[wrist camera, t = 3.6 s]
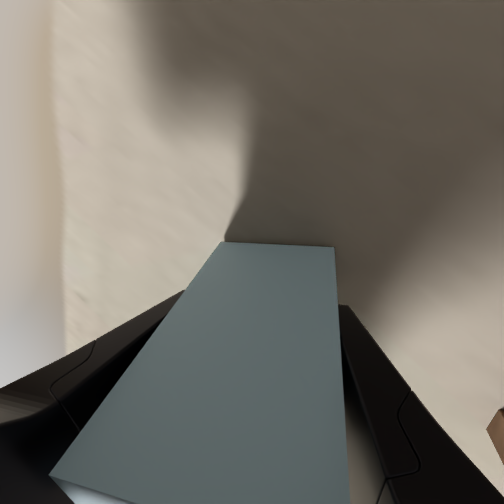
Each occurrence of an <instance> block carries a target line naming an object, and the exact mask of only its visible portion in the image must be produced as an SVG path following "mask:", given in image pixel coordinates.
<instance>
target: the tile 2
mask: <svg viewBox="0 0 504 504" xmlns="http://www.w3.org/2000/svg"><path fill="white" fill-rule="evenodd" d="M486 430H487V432H488V434H489V436H490V438H491V440H492V442H493V444H494V446H495V448H496V450H497V452H498V454H499V456H500V458H501V460H502V462H503V464H504V410H498V412H497V413H496V415H495V417H494V418H493V420H492V421H491V423H490V424H489V426H488V427H487V429H486Z"/></svg>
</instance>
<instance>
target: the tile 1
mask: <svg viewBox="0 0 504 504" xmlns="http://www.w3.org/2000/svg"><path fill="white" fill-rule="evenodd" d="M49 476H50V477H51V478H52V479H53V480H54V482H55V483H56V484H57V485H58V486H59V487H60V488H61V489H62V490H63V491H64V492H65V493H66V494H67V496H68V497H69V498H70V499H71V500H72V501H73V502H74V503H75V504H350V490H349V474H348V458H347V442H346V426H345V410H344V394H343V378H342V362H341V346H340V330H339V314H338V298H337V282H336V266H335V250H334V247H320V246H299V245H278V244H257V243H236V242H220V244H219V245H218V246H217V248H216V249H215V250H214V252H213V253H212V254H211V256H210V257H209V259H208V260H207V261H206V263H205V264H204V265H203V267H202V268H201V269H200V271H199V272H198V273H197V275H196V276H195V277H194V279H193V280H192V282H191V283H190V284H189V286H188V287H187V288H186V290H185V291H184V292H183V294H182V295H181V296H180V298H179V299H178V301H177V302H176V303H175V305H174V306H173V307H172V309H171V310H170V311H169V313H168V314H167V315H166V317H165V318H164V319H163V321H162V322H161V324H160V325H159V326H158V328H157V329H156V330H155V332H154V333H153V334H152V336H151V337H150V338H149V340H148V341H147V342H146V344H145V345H144V347H143V348H142V349H141V351H140V352H139V353H138V355H137V356H136V357H135V359H134V360H133V361H132V363H131V364H130V365H129V367H128V368H127V370H126V371H125V372H124V374H123V375H122V376H121V378H120V379H119V380H118V382H117V383H116V384H115V386H114V387H113V388H112V390H111V391H110V393H109V394H108V395H107V397H106V398H105V399H104V401H103V402H102V403H101V405H100V406H99V407H98V409H97V410H96V411H95V413H94V414H93V416H92V417H91V418H90V420H89V421H88V422H87V424H86V425H85V426H84V428H83V429H82V430H81V432H80V433H79V434H78V436H77V437H76V439H75V440H74V441H73V443H72V444H71V445H70V447H69V448H68V449H67V451H66V452H65V453H64V455H63V456H62V457H61V459H60V460H59V462H58V463H57V464H56V466H55V467H54V468H53V470H52V471H51V472H50V474H49Z"/></svg>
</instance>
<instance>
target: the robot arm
mask: <svg viewBox="0 0 504 504" xmlns="http://www.w3.org/2000/svg"><path fill="white" fill-rule="evenodd" d="M184 291H185V290H182V291H181V292H179V293H177V294H175V295H174V296H172V297H170V298H168V299H166V300H165V301H163V302H161V303H159V304H158V305H156V306H154V307H152V308H151V309H149V310H147V311H145V312H143V313H142V314H140V315H138V316H136V317H135V318H133V319H131V320H129V321H127V322H126V323H124V324H122V325H120V326H119V327H117V328H115V329H113V330H112V331H110V332H108V333H106V334H104V335H103V336H101V337H99V338H97V339H96V340H94V341H92V342H90V343H88V344H87V345H85V346H83V347H81V348H79V349H78V350H76V351H74V352H72V353H70V354H68V355H67V356H65V357H63V358H61V359H59V360H57V361H55V362H53V363H51V364H49V365H47V366H45V367H43V368H41V369H39V370H37V371H35V372H33V373H31V374H29V375H27V376H25V377H23V378H20V379H18V380H16V381H14V382H12V383H10V384H8V385H6V386H5V387H2V388H0V504H75V503H74V502H73V501H72V500H71V499H70V498H69V497H68V496H67V494H66V493H65V492H64V491H63V490H62V489H61V488H60V487H59V486H58V485H57V484H56V483H55V482H54V480H53V479H52V478H51V477H50V476H49V474H50V472H51V471H52V470H53V468H54V467H55V466H56V464H57V463H58V462H59V460H60V459H61V457H62V456H63V455H64V453H65V452H66V451H67V449H68V448H69V447H70V445H71V444H72V443H73V441H74V440H75V439H76V437H77V436H78V434H79V433H80V432H81V430H82V429H83V428H84V426H85V425H86V424H87V422H88V421H89V420H90V418H91V417H92V416H93V414H94V413H95V411H96V410H97V409H98V407H99V406H100V405H101V403H102V402H103V401H104V399H105V398H106V397H107V395H108V394H109V393H110V391H111V390H112V388H113V387H114V386H115V384H116V383H117V382H118V380H119V379H120V378H121V376H122V375H123V374H124V372H125V371H126V370H127V368H128V367H129V365H130V364H131V363H132V361H133V360H134V359H135V357H136V356H137V355H138V353H139V352H140V351H141V349H142V348H143V347H144V345H145V344H146V342H147V341H148V340H149V338H150V337H151V336H152V334H153V333H154V332H155V330H156V329H157V328H158V326H159V325H160V324H161V322H162V321H163V319H164V318H165V317H166V315H167V314H168V313H169V311H170V310H171V309H172V307H173V306H174V305H175V303H176V302H177V301H178V299H179V298H180V296H181V295H182V294H183V292H184ZM338 314H339V330H340V346H341V362H342V378H343V394H344V410H345V426H346V442H347V458H348V474H349V490H350V504H504V497H503V496H502V495H501V493H500V492H499V491H498V490H497V489H496V488H495V487H494V486H493V485H492V483H491V482H490V481H489V480H488V479H487V478H486V477H485V476H484V475H483V473H482V472H481V471H480V470H479V469H478V468H477V467H476V466H475V465H474V463H473V462H472V461H471V460H470V459H469V458H468V457H467V456H466V455H465V453H464V452H463V451H462V450H461V449H460V448H459V447H458V446H457V444H456V443H455V442H454V441H453V440H452V439H451V438H450V436H449V435H448V434H447V433H446V432H445V431H444V429H443V428H442V427H441V426H440V425H439V424H438V422H437V421H436V420H435V419H434V417H433V416H432V415H431V414H430V412H429V411H428V410H427V409H426V407H425V406H424V405H423V404H422V402H421V401H420V400H419V398H418V397H417V396H416V394H415V393H414V392H413V391H411V388H410V386H409V385H408V384H407V383H406V381H405V380H404V379H403V377H402V376H401V375H400V373H399V372H398V371H397V369H396V368H395V367H394V365H393V364H392V363H391V361H390V360H389V359H388V357H387V356H386V355H385V353H384V352H383V351H382V349H381V348H380V347H379V345H378V344H377V343H376V341H375V340H374V339H373V337H372V336H371V335H370V334H369V332H368V331H367V330H366V328H365V327H364V326H363V324H362V323H361V322H360V320H359V319H358V318H357V316H356V315H355V314H354V312H353V311H352V310H351V308H350V307H349V306H348V305H340V304H338Z"/></svg>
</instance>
